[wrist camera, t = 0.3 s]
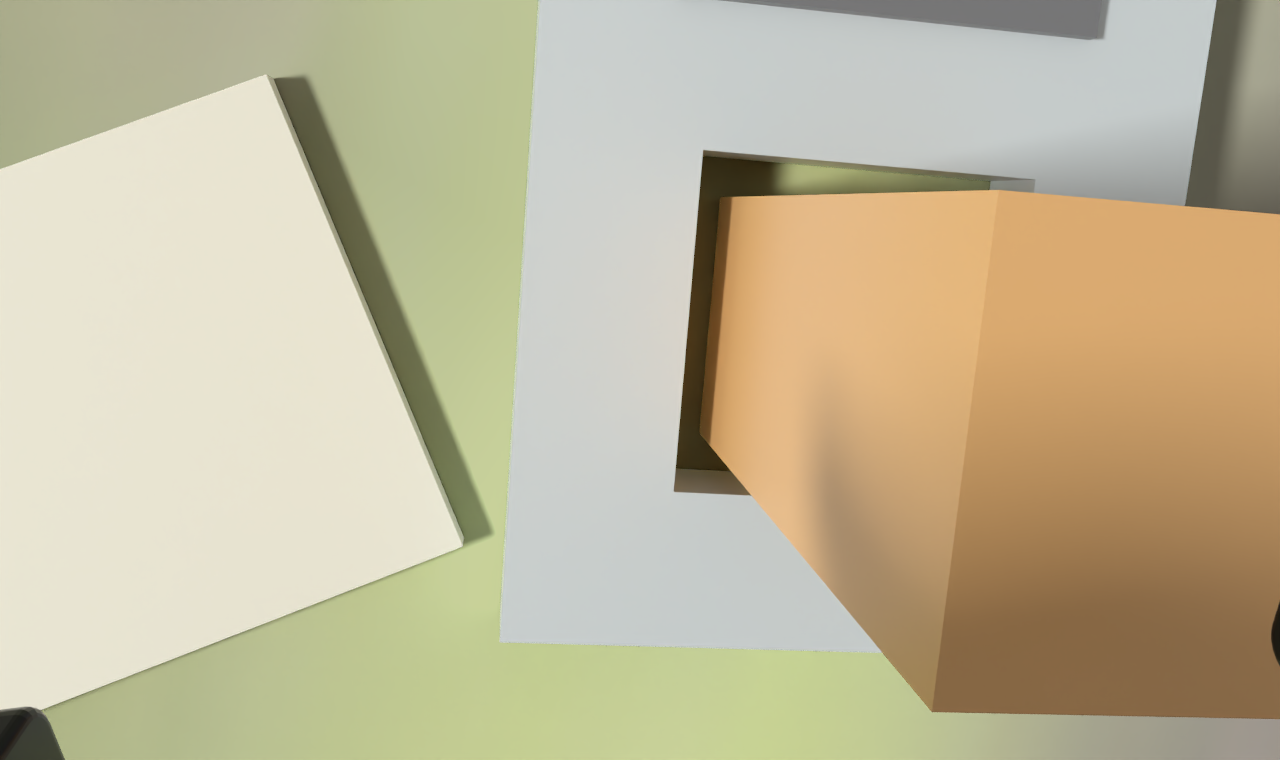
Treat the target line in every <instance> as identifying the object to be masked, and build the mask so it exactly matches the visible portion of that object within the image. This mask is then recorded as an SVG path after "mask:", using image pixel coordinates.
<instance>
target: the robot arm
mask: <svg viewBox="0 0 1280 760" xmlns="http://www.w3.org/2000/svg"><path fill="white" fill-rule="evenodd" d="M1271 642H1272V648H1273V651H1274V654H1275V657H1276V660H1277V662H1278V664H1279V666H1280V601H1279V604H1278V608H1277V611H1276V614H1275V617H1274V621H1273V624H1272V629H1271ZM0 760H65V759H64V756H63V754H62V752H61V749H60V747H59V744H58V742H57V739H56V737H55V734H54V732H53V729H52V727H51V724H50V722H49V721H48V719H47V717H46V715H45V714H44V713H43V712H42V711H41V710H39V709H37V708H34V707H18V708H10V709H2V710H0Z"/></svg>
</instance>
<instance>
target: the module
mask: <svg viewBox="0 0 1280 760" xmlns="http://www.w3.org/2000/svg"><path fill="white" fill-rule="evenodd" d="M699 433H700V434H701V436H702V437H703V438H704V439H705V440H706V442H707V443H708V444H709V445H710V446H711V448H712V449H713V450H714V451H715V452H716V454H717V455H718V456H719V457H720V458H721V460H722V461H723V462H724V463H725V464H726V466H727V467H728V468H729V469H730V470H731V472H732V473H733V474H734V475H735V476H736V478H737V479H738V480H739V481H740V482H741V484H742V485H743V486H744V487H745V488H746V490H747V491H748V492H749V493H750V494H751V496H752V497H753V498H754V499H755V500H756V502H757V503H758V504H759V505H760V506H761V508H762V509H763V510H764V511H765V512H766V514H767V515H768V516H769V517H770V518H771V520H772V521H773V522H774V523H775V524H776V526H777V527H778V528H779V529H780V530H781V532H782V533H783V534H784V535H785V536H786V538H787V539H788V540H789V541H790V542H791V544H792V545H793V546H794V547H795V548H796V550H797V551H798V552H799V553H800V554H801V556H802V557H803V558H804V559H805V560H806V562H807V563H808V564H809V565H810V566H811V568H812V569H813V570H814V571H815V572H816V574H817V575H818V576H819V577H820V578H821V580H822V581H823V582H824V583H825V584H826V586H827V587H828V588H829V589H830V590H831V592H832V593H833V594H834V595H835V596H836V598H837V599H838V600H839V601H840V602H841V604H842V605H843V606H844V607H845V608H846V610H847V611H848V612H849V613H850V614H851V616H852V617H853V618H854V619H855V620H856V622H857V623H858V624H859V625H860V626H861V628H862V629H863V630H864V631H865V632H866V634H867V635H868V636H869V637H870V638H871V640H872V641H873V642H874V643H875V644H876V646H877V647H878V648H879V649H880V650H881V652H882V653H883V654H884V655H885V656H886V658H887V659H888V660H889V661H890V662H891V664H892V665H893V666H894V667H895V668H896V670H897V671H898V672H899V673H900V674H901V676H902V677H903V678H904V679H905V680H906V682H907V683H908V684H909V685H910V686H911V688H912V689H913V690H914V691H915V692H916V694H917V695H918V696H919V697H920V698H921V700H922V701H923V702H924V703H925V704H926V706H927V707H928V708H929V709H930V710H931V712H959V713H1008V714H1057V715H1106V716H1155V717H1205V718H1254V719H1280V666H1279V664H1278V662H1277V660H1276V657H1275V654H1274V651H1273V648H1272V642H1271V629H1272V624H1273V621H1274V617H1275V614H1276V611H1277V608H1278V604H1279V601H1280V214H1270V213H1258V212H1247V211H1235V210H1224V209H1212V208H1201V207H1189V206H1178V205H1166V204H1155V203H1143V202H1132V201H1120V200H1109V199H1097V198H1086V197H1074V196H1063V195H1052V194H1040V193H1029V192H1017V191H1006V190H975V191H937V192H899V193H861V194H823V195H785V196H747V197H720V206H719V217H718V229H717V240H716V251H715V262H714V273H713V284H712V296H711V307H710V318H709V329H708V340H707V351H706V363H705V374H704V385H703V396H702V407H701V418H700V430H699Z"/></svg>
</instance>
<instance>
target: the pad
mask: <svg viewBox="0 0 1280 760" xmlns="http://www.w3.org/2000/svg"><path fill="white" fill-rule="evenodd" d="M463 542H464V536H463V534H462V532H461V529H460V527H459V524H458V522H457V520H456V517H455V515H454V512H453V510H452V508H451V505H450V503H449V500H448V498H447V496H446V493H445V491H444V488H443V486H442V484H441V481H440V479H439V476H438V474H437V471H436V469H435V467H434V464H433V462H432V459H431V457H430V455H429V452H428V450H427V447H426V445H425V443H424V440H423V438H422V435H421V433H420V431H419V428H418V426H417V423H416V421H415V419H414V416H413V414H412V411H411V409H410V407H409V404H408V402H407V399H406V397H405V395H404V392H403V390H402V387H401V385H400V382H399V380H398V378H397V375H396V373H395V370H394V368H393V366H392V363H391V361H390V358H389V356H388V354H387V351H386V349H385V346H384V344H383V342H382V339H381V337H380V334H379V332H378V330H377V327H376V325H375V322H374V320H373V318H372V315H371V313H370V310H369V308H368V306H367V303H366V301H365V298H364V296H363V293H362V291H361V289H360V286H359V284H358V281H357V279H356V277H355V274H354V272H353V269H352V267H351V265H350V262H349V260H348V257H347V255H346V253H345V250H344V248H343V245H342V243H341V241H340V238H339V236H338V233H337V231H336V229H335V226H334V224H333V221H332V219H331V216H330V214H329V212H328V209H327V207H326V204H325V202H324V200H323V197H322V195H321V192H320V190H319V188H318V185H317V183H316V180H315V178H314V176H313V173H312V171H311V168H310V166H309V164H308V161H307V159H306V156H305V154H304V152H303V149H302V147H301V144H300V142H299V140H298V137H297V135H296V132H295V130H294V127H293V125H292V123H291V120H290V118H289V115H288V113H287V111H286V108H285V106H284V103H283V101H282V99H281V96H280V94H279V91H278V89H277V87H276V84H275V82H274V79H273V78H272V77H270V76H268V75H267V74H265V75H263V76H260V77H257V78H254V79H251V80H249V81H246V82H243V83H240V84H237V85H235V86H232V87H229V88H226V89H223V90H221V91H218V92H215V93H212V94H209V95H207V96H204V97H201V98H198V99H195V100H193V101H190V102H187V103H184V104H181V105H179V106H176V107H173V108H170V109H167V110H165V111H162V112H159V113H156V114H153V115H151V116H148V117H145V118H142V119H139V120H137V121H134V122H131V123H128V124H125V125H123V126H120V127H117V128H114V129H111V130H109V131H106V132H103V133H100V134H98V135H95V136H92V137H89V138H86V139H84V140H81V141H78V142H75V143H72V144H70V145H67V146H64V147H61V148H58V149H56V150H53V151H50V152H47V153H44V154H42V155H39V156H36V157H33V158H30V159H28V160H25V161H22V162H19V163H16V164H14V165H11V166H8V167H5V168H2V169H0V710H2V709H10V708H18V707H34V708H37V709H39V710H42V709H45V708H47V707H50V706H52V705H55V704H58V703H60V702H63V701H65V700H68V699H70V698H73V697H76V696H78V695H81V694H83V693H86V692H89V691H91V690H94V689H96V688H99V687H101V686H104V685H107V684H109V683H112V682H114V681H117V680H120V679H122V678H125V677H127V676H130V675H132V674H135V673H138V672H140V671H143V670H145V669H148V668H150V667H153V666H156V665H158V664H161V663H163V662H166V661H169V660H171V659H174V658H176V657H179V656H181V655H184V654H187V653H189V652H192V651H194V650H197V649H200V648H202V647H205V646H207V645H210V644H212V643H215V642H218V641H220V640H223V639H225V638H228V637H231V636H233V635H236V634H238V633H241V632H243V631H246V630H249V629H251V628H254V627H256V626H259V625H262V624H264V623H267V622H269V621H272V620H274V619H277V618H280V617H282V616H285V615H287V614H290V613H293V612H295V611H298V610H300V609H303V608H305V607H308V606H311V605H313V604H316V603H318V602H321V601H323V600H326V599H329V598H331V597H334V596H336V595H339V594H342V593H344V592H347V591H349V590H352V589H354V588H357V587H360V586H362V585H365V584H367V583H370V582H373V581H375V580H378V579H380V578H383V577H385V576H388V575H391V574H393V573H396V572H398V571H401V570H404V569H406V568H409V567H411V566H414V565H416V564H419V563H422V562H424V561H427V560H429V559H432V558H435V557H437V556H440V555H442V554H445V553H447V552H450V551H453V550H455V549H458V548H460V547H463Z"/></svg>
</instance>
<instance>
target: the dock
mask: <svg viewBox="0 0 1280 760" xmlns="http://www.w3.org/2000/svg"><path fill="white" fill-rule="evenodd" d="M1216 1H1217V0H538V12H537V28H536V44H535V60H534V76H533V92H532V108H531V124H530V140H529V156H528V172H527V188H526V204H525V220H524V236H523V252H522V268H521V284H520V300H519V316H518V332H517V348H516V364H515V380H514V396H513V411H512V427H511V443H510V459H509V475H508V491H507V507H506V523H505V539H504V555H503V571H502V587H501V603H500V642H509V643H545V644H581V645H618V646H654V647H690V648H727V649H763V650H799V651H836V652H872V653H882V652H881V650H880V649H879V648H878V647H877V646H876V644H875V643H874V642H873V641H872V640H871V638H870V637H869V636H868V635H867V634H866V632H865V631H864V630H863V629H862V628H861V626H860V625H859V624H858V623H857V622H856V620H855V619H854V618H853V617H852V616H851V614H850V613H849V612H848V611H847V610H846V608H845V607H844V606H843V605H842V604H841V602H840V601H839V600H838V599H837V598H836V596H835V595H834V594H833V593H832V592H831V590H830V589H829V588H828V587H827V586H826V584H825V583H824V582H823V581H822V580H821V578H820V577H819V576H818V575H817V574H816V572H815V571H814V570H813V569H812V568H811V566H810V565H809V564H808V563H807V562H806V560H805V559H804V558H803V557H802V556H801V554H800V553H799V552H798V551H797V550H796V548H795V547H794V546H793V545H792V544H791V542H790V541H789V540H788V539H787V538H786V536H785V535H784V534H783V533H782V532H781V530H780V529H779V528H778V527H777V526H776V524H775V523H774V522H773V521H772V520H771V518H770V517H769V516H768V515H767V514H766V512H765V511H764V510H763V509H762V508H761V506H760V505H759V504H758V503H757V502H756V500H755V499H754V498H753V497H752V496H751V494H750V493H749V492H748V491H747V490H746V488H745V487H744V486H743V485H742V484H741V482H740V481H739V480H738V479H737V478H736V476H735V475H734V474H733V473H732V472H731V471H716V470H696V469H676V459H677V447H678V435H679V424H680V412H681V401H682V389H683V378H684V366H685V354H686V343H687V331H688V320H689V308H690V297H691V285H692V273H693V262H694V250H695V239H696V227H697V216H698V204H699V193H700V181H701V169H702V158H703V156H708V157H719V158H730V159H742V160H753V161H764V162H776V163H787V164H798V165H810V166H821V167H832V168H844V169H855V170H866V171H878V172H889V173H901V174H912V175H923V176H935V177H946V178H957V179H969V180H980V181H991V183H990V190H1006V191H1017V192H1029V193H1040V194H1052V195H1063V196H1074V197H1086V198H1097V199H1109V200H1120V201H1132V202H1143V203H1155V204H1166V205H1178V206H1185V203H1186V196H1187V190H1188V183H1189V177H1190V170H1191V164H1192V157H1193V151H1194V144H1195V137H1196V131H1197V124H1198V118H1199V111H1200V105H1201V98H1202V92H1203V85H1204V79H1205V72H1206V66H1207V59H1208V53H1209V46H1210V40H1211V33H1212V27H1213V20H1214V14H1215V7H1216Z"/></svg>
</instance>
